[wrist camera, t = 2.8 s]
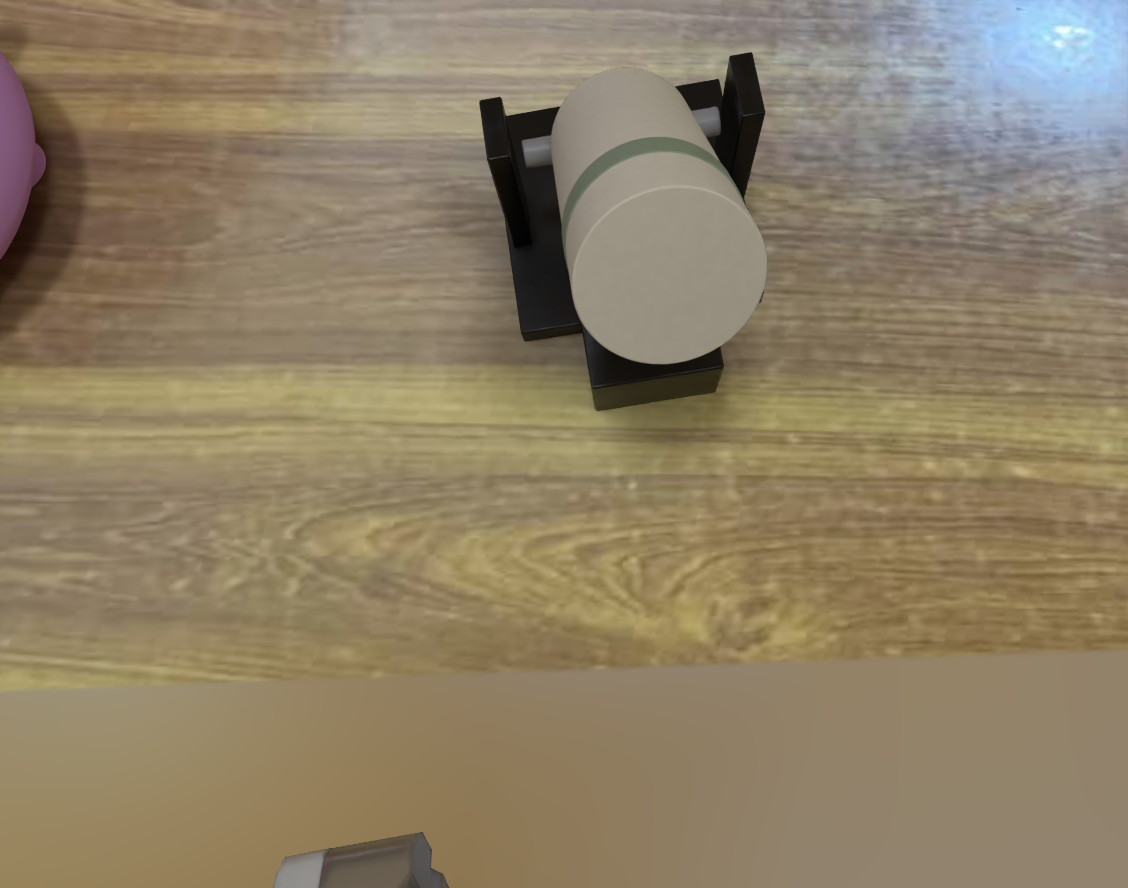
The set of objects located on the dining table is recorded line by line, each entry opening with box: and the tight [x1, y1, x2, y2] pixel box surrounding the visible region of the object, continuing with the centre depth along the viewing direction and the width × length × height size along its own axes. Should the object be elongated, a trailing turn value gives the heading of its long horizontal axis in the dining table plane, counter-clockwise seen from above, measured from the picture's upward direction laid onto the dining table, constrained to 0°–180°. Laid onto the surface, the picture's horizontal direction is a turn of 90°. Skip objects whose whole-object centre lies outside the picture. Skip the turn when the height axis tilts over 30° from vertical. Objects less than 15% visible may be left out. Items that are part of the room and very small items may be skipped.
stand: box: [479, 52, 765, 411], centre depth 34 cm, size 14×10×8 cm
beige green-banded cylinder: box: [522, 67, 767, 364], centre depth 29 cm, size 12×7×5 cm
